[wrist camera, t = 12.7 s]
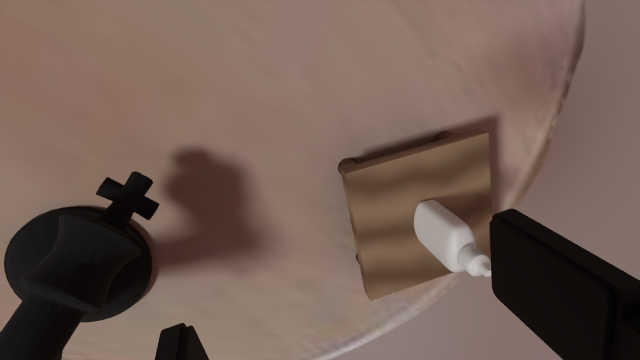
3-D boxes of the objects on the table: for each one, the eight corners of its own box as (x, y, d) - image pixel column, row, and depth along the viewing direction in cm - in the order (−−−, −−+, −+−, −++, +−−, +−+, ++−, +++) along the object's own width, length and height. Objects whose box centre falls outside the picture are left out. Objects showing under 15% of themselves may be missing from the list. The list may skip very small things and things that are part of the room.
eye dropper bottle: (449, 204, 46) (520, 253, 35) (430, 243, 47) (491, 302, 36) (421, 194, 44) (485, 242, 33) (401, 235, 45) (456, 294, 34)
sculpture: (-16, 286, 43) (-297, 559, 20) (88, 119, 40) (-103, 212, 17) (114, 333, 48) (12, 587, 25) (213, 190, 45) (199, 332, 22)
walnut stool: (329, 157, 47) (345, 173, 41) (455, 122, 50) (488, 132, 44) (353, 271, 54) (370, 300, 48) (463, 234, 57) (493, 258, 50)
